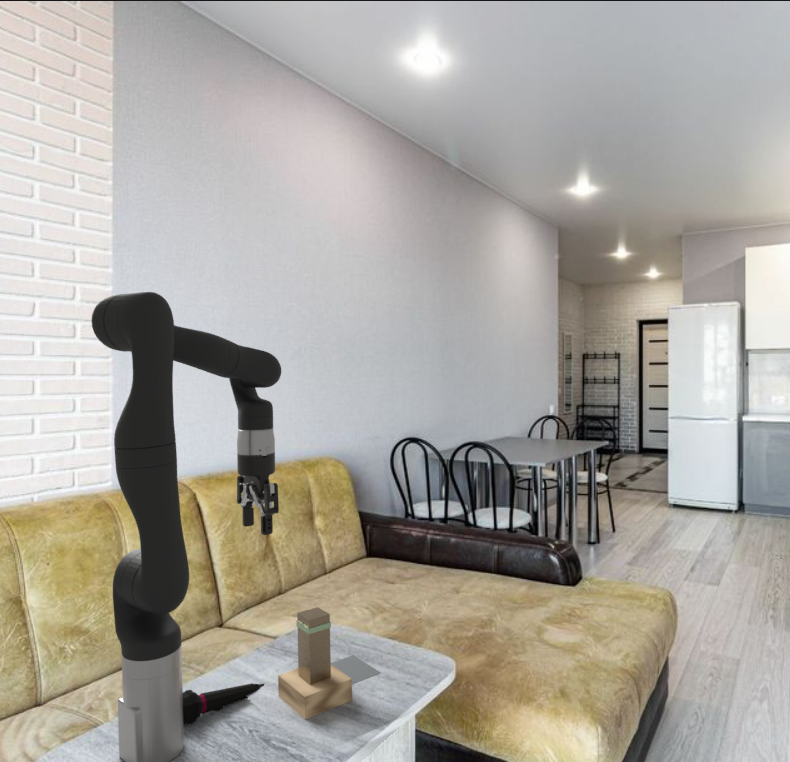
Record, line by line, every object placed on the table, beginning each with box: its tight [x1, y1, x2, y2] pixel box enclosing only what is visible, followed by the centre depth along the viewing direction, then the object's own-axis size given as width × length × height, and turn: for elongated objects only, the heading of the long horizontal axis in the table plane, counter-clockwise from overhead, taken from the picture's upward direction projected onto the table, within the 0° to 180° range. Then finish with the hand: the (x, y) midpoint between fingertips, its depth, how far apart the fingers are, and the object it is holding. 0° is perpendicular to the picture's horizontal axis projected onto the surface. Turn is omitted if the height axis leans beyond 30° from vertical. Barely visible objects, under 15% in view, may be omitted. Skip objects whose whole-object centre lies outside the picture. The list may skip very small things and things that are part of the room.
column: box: [295, 606, 332, 685], centre depth 118 cm, size 5×5×12 cm
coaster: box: [331, 654, 382, 685], centre depth 128 cm, size 10×10×1 cm
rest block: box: [277, 665, 353, 720], centre depth 118 cm, size 10×10×5 cm
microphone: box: [183, 682, 265, 725], centre depth 117 cm, size 6×6×20 cm
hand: (257, 529), depth 128 cm, fingers open, 8 cm apart
